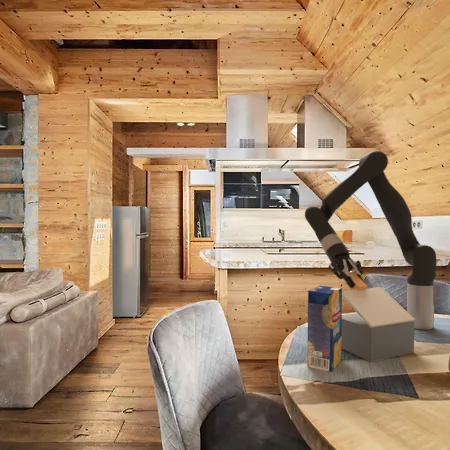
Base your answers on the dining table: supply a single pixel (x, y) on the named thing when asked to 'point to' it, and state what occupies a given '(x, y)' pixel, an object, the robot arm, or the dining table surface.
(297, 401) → the dining table surface
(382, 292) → the lid flap
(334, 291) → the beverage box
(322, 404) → the dining table surface
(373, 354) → the carton
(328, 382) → the dining table surface
